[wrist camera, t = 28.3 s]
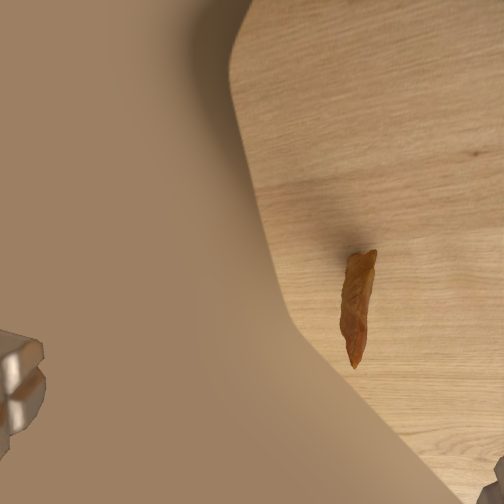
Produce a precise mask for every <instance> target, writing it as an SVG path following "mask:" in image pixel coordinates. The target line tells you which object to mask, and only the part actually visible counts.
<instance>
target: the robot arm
mask: <svg viewBox="0 0 504 504" xmlns="http://www.w3.org/2000/svg"><path fill="white" fill-rule="evenodd" d="M43 359H44V351H43V343H41V342H40V341H38V340H37V339H33V338H29V337H26V336H22V335H18V334H15V333H11V332H7V331H4V330H0V460H1V459H2V457H3V456H4V455H5V454H6V453H7V451H8V450H9V447H10V443H9V442H10V436H12V435H14V434H16V433H19V432H21V431H23V430H25V429H26V428H27V427H28V426H29V425H30V423H31V422H32V421H33V420H34V418H35V417H36V416H37V414H38V411H39V409H40V407H41V405H42V403H43V400H44V396H45V391H46V377H45V376H44V375H43V373H42V372H41V370H40V369H39V368H38V365H39V363H40V362H41V361H42V360H43ZM494 472H495V474H496V477H497V480H498V481H496V482H494V483H492V484H490V485H488V486H485V487H483V490H482V492H481V494H480V496H479V498H478V500H477V503H476V504H504V456H503V457H501V458H500V459H499V461H498V462H497V464H496V466H495V468H494Z"/></svg>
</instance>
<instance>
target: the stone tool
mask: <svg viewBox="0 0 504 504" xmlns="http://www.w3.org/2000/svg"><path fill="white" fill-rule="evenodd" d="M376 257H377V250H376V249H375V250H370V251H369V252H367V253H366V254H364V255H363V254H355V255H353V256H351V257H350V258H349V260H348V262H347V267H346V272H345V276H346V277H345V281H344V284H343V289H342V295H341V297H342V303H341V318H340V330H341V333H342V335H343V337H344V338H345V340H346V349H347V353H348V356H349V359H350V363H351V366H352V367H353V368H354V369H356V368H357V366H358V364H359V362H360V361H361V358H362V355H363V352H364V349H365V346H366V340H367V313H368V305H369V299H370V295H371V293H372V285H373V281H374V276H375V269H374V265H375V261H376Z"/></svg>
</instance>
